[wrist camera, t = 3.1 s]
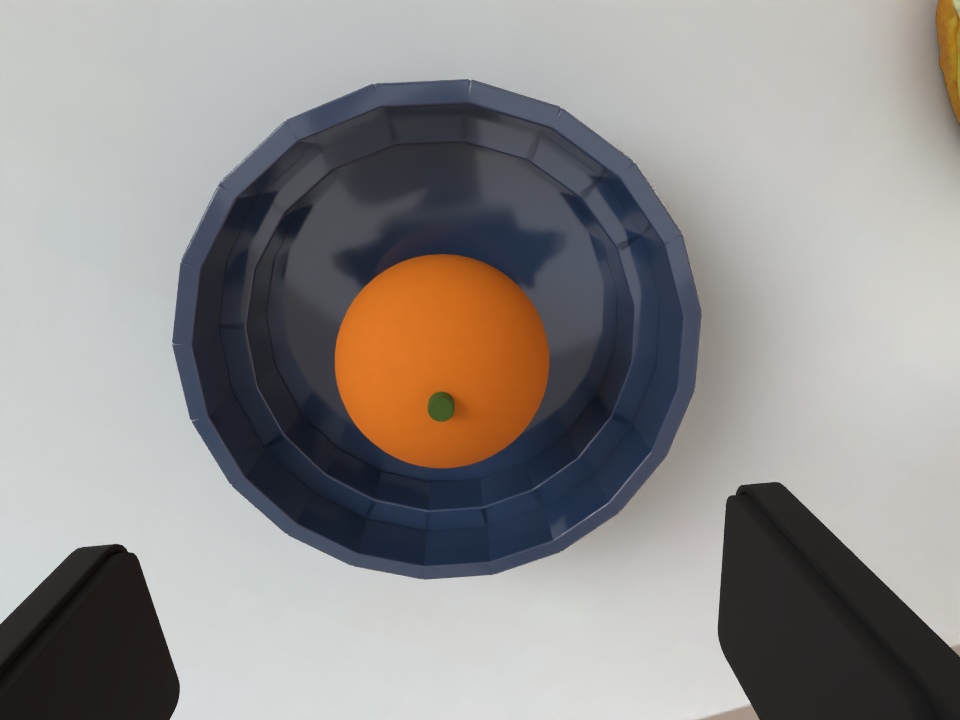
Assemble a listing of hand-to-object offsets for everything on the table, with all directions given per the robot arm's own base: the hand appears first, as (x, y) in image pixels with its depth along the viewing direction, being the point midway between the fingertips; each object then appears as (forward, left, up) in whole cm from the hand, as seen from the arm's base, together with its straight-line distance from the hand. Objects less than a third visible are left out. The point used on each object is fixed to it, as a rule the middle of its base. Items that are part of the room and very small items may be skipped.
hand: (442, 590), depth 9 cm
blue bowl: (0, 0, -14) cm, 14 cm away
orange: (0, 0, -14) cm, 14 cm away
